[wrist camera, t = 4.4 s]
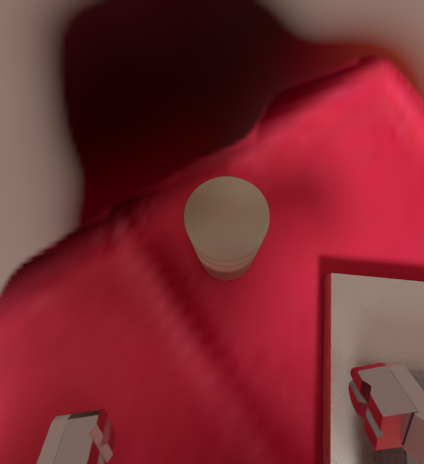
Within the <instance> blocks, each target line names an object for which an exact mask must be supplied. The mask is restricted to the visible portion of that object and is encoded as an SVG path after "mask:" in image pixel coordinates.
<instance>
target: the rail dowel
mask: <svg viewBox="0 0 424 464" xmlns="http://www.w3.org/2000/svg"><path fill="white" fill-rule="evenodd" d="M269 223H270V212H269V207H268V203H267V201H266V199H265V197H264V196H263V194H262V193H261V192H260V190H259V189H258V188H257V187H255V186H254V185H253V184H251V183H250V182H248V181H246V180H244V179H241V178H237V177H231V176H223V177H217V178H213V179H210V180H208V181H206V182H204V183H203V184H201V185H200V186H198V187H197V188H196V189H195V190H194V191H193V193H192V194H191V195H190V197H189V199H188V201H187V203H186V206H185V210H184V224H185V229H186V231H187V234H188V236H189V238H190V241H191V243H192V245H193V247H194V249H195V252H196V254H197V256H198V258H199V261H200V263H201V265H202V267H203V268H204V270H205V271H206V272H207V273H208V274H209V275H211V276H212V277H214V278H216V279H220V280H233V279H236V278H239V277H241V276H242V275H244V274H245V273H246V272H247V271H248V269H249V268H250V266H251V265H252V262H253V260H254V258H255V256H256V254H257V252H258V250H259V248H260V246H261V244H262V242H263V240H264V237H265V235H266V233H267V231H268V228H269Z"/></svg>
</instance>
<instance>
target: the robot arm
mask: <svg viewBox="0 0 424 464" xmlns="http://www.w3.org/2000/svg"><path fill="white" fill-rule="evenodd" d="M350 375H351V377H352V379H353V380H352V381H351V382H350V383H349V395H350V399H351V402H352V405H353V407H354V409H355V411H356V413H357V414H358V415H359V416H360V417H362V418H363V419H364V420H365V423H364V429H365V431H366V433H367V435H368V437H369V439H370V441H371V443H372V445H373V447H374V449H375V451H376V450H383V449H391V448H398V447H403V449H404V450H405V451H406V452H407V453H408V454H409V455H411V456H412V457H413V458H414V459H415V460H416V461H417V462H418V463H420V464H424V391H423V390H422V388H421V387H420V386H419V384H418V383H417V382H416V380H415V379H414V377H413V376H412V375H411V373H410V372H409V371H408V369H407V368H406V367H405V365H404V364H403V363H402V362H401V361H399V360H395V361H389V362H383V363H382V362H381V363H376V364H370V365H365V366H359V367H354V368H352V369H351V373H350ZM106 419H107V413H106V411H105V410H104V409H100V410H94V411H88V412H81V413H75V414H67V415H61V416H56V417H55V418H54V420H53V421H52V423H51V425H50V428H49V431H48V433H47V436H46V439H45V442H44V444H43V447H42V450H41V453H40V456H39V458H38V461H37V464H108V463H107V462H108V461H109V460H110V458H111V457H112V455H113V454H114V447H115V431H114V426H113V424H112V422H110V421H108V420H106Z"/></svg>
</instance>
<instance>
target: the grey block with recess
mask: <svg viewBox="0 0 424 464" xmlns="http://www.w3.org/2000/svg"><path fill="white" fill-rule="evenodd" d="M395 360H399V361H401V362H402V363H403V364H404V365H405V367H406V368H407V369H408V371H409V372H410V373H411V375H412V376H413V377H414V379H415V380H416V382H417V383H418V384H419V386H420V387H421V388H422V390H423V391H424V282H422V281H411V280H401V279H390V278H380V277H369V276H359V275H348V274H338V273H330V274H328V275H325V276H324V364H323V464H420V463H418V462H417V461H416V460H415V459H414V458H413V457H412V456H411V455H409V454H408V453H407V452H406V451H405V450H404V449H403V447H398V448H391V449H383V450H376V451H375V449H374V447H373V445H372V443H371V441H370V439H369V437H368V435H367V433H366V431H365V429H364V423H365V420H364V419H363V418H362V417H360V416H359V415H358V414H357V413H356V411H355V409H354V407H353V405H352V402H351V399H350V395H349V383H350V382H351V381H352V380H353V379H352V377H351V375H350V373H351V369H352V368H354V367H359V366H365V365H370V364H376V363H381V362H382V363H383V362H389V361H395Z"/></svg>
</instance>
